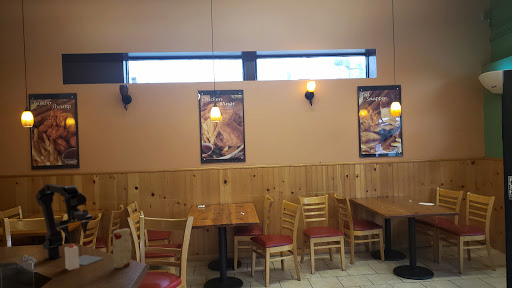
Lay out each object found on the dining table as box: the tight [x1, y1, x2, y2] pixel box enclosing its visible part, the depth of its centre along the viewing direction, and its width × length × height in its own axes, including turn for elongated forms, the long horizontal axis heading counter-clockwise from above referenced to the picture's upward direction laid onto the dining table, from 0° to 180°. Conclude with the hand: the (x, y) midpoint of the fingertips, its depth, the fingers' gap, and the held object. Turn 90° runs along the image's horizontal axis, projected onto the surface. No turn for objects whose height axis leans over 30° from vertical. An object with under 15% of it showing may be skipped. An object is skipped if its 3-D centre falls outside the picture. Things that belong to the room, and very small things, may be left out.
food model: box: [112, 228, 132, 269], centre depth 195 cm, size 10×7×20 cm
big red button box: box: [64, 243, 80, 271], centre depth 196 cm, size 5×5×12 cm
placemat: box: [79, 254, 105, 267], centre depth 208 cm, size 16×12×1 cm
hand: (77, 236), depth 203 cm, fingers open, 9 cm apart
